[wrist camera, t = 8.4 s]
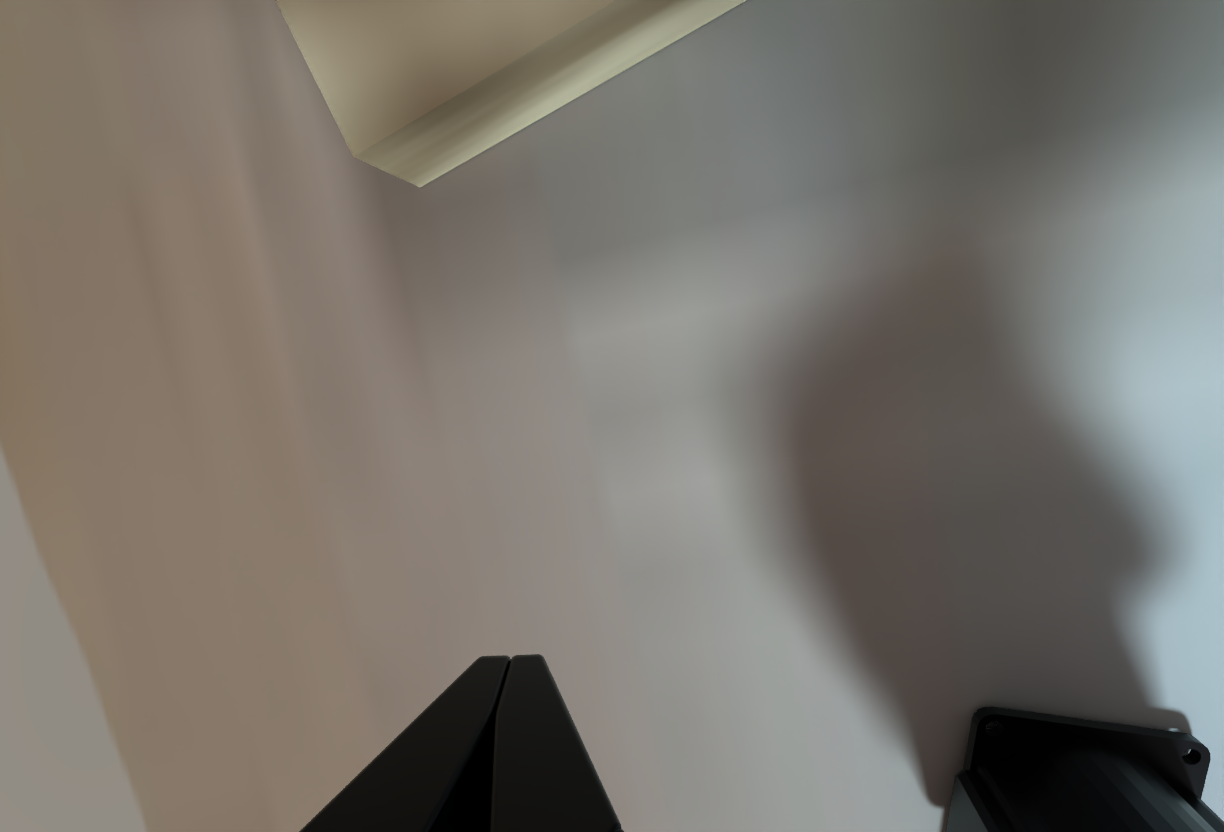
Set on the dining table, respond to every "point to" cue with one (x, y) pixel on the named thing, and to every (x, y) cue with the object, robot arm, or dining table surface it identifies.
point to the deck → (469, 66)
